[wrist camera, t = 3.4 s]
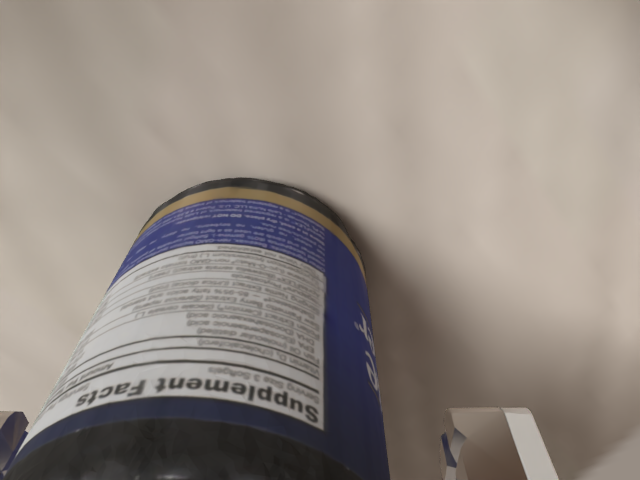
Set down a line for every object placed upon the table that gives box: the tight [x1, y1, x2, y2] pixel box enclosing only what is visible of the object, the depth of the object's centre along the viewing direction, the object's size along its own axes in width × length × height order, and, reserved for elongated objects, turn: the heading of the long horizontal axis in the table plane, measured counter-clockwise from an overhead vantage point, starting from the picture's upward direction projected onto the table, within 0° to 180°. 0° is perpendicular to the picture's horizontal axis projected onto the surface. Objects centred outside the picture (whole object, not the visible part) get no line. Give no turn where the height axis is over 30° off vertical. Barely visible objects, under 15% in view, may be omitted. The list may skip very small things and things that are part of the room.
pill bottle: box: [2, 178, 390, 480], centre depth 10 cm, size 6×6×11 cm
